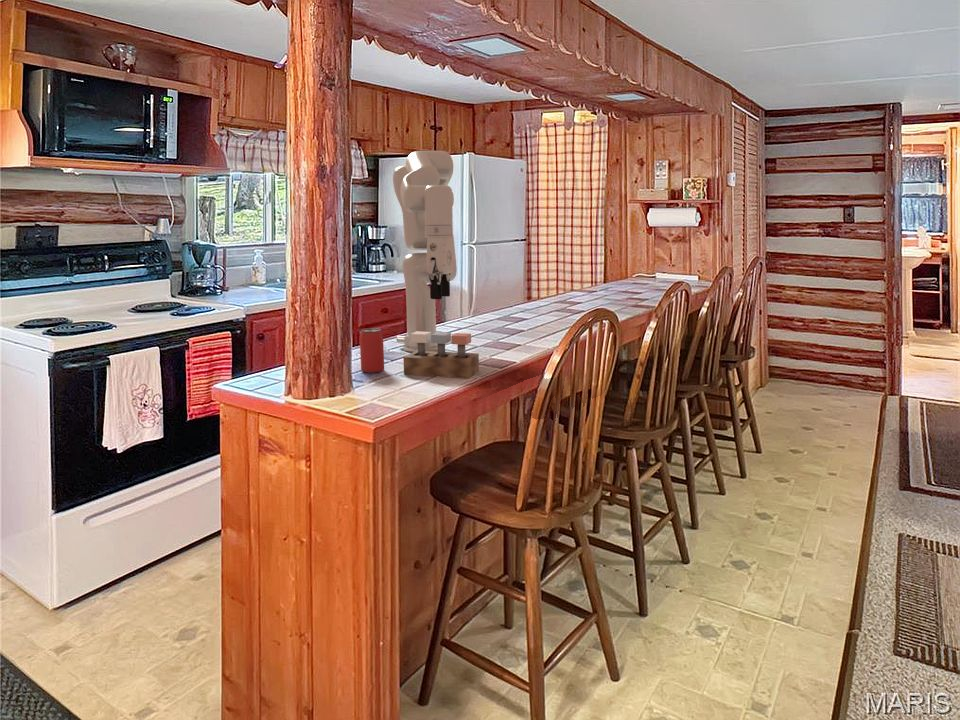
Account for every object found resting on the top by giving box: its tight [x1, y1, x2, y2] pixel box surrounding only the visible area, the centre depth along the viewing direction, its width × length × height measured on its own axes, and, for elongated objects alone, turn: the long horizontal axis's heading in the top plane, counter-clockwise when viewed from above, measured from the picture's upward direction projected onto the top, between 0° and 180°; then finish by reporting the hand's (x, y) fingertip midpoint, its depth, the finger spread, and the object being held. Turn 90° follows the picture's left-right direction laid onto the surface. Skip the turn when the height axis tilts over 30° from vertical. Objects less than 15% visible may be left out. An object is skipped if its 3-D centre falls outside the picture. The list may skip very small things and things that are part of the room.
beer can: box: [359, 327, 385, 374], centre depth 205 cm, size 7×7×12 cm
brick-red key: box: [450, 332, 472, 358], centre depth 201 cm, size 4×4×7 cm
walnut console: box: [403, 350, 480, 379], centre depth 203 cm, size 19×10×5 cm, turn 73°
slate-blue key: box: [431, 331, 452, 357], centre depth 202 cm, size 4×4×7 cm
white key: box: [411, 331, 431, 356], centre depth 204 cm, size 4×4×7 cm
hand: (440, 297), depth 199 cm, fingers open, 5 cm apart
